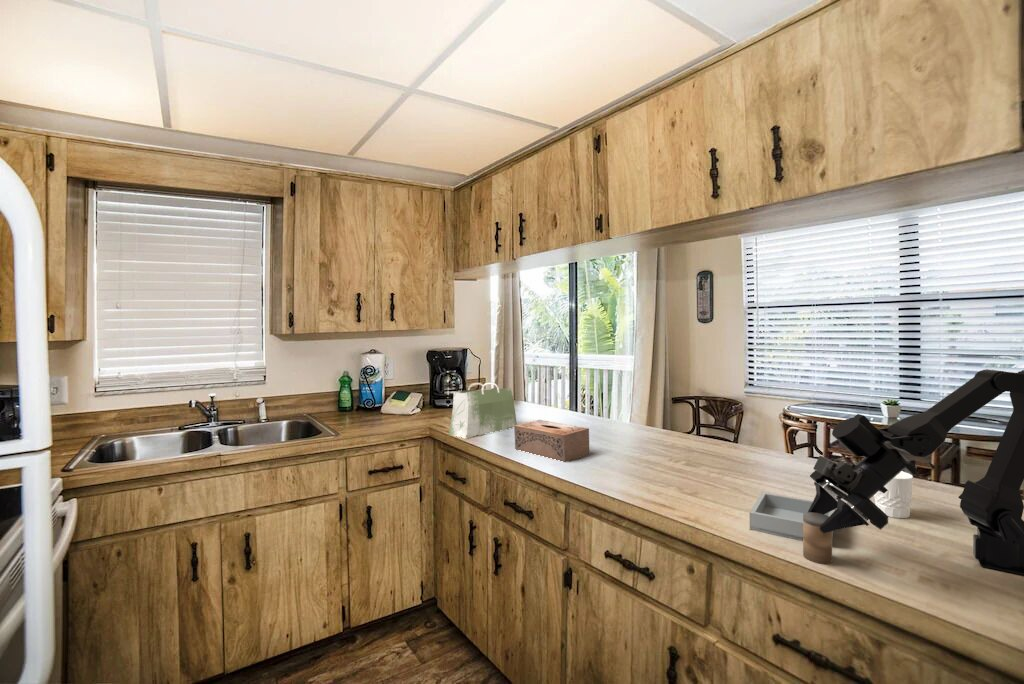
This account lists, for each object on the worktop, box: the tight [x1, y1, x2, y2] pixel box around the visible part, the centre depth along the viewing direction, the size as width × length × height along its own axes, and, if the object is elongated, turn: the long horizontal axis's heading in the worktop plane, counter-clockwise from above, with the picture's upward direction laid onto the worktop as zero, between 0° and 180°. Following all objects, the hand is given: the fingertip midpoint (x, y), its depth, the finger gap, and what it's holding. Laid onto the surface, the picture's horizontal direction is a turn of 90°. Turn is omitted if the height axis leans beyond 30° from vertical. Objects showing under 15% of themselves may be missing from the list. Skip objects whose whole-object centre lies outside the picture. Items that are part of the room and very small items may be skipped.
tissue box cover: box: [513, 419, 590, 463], centre depth 184 cm, size 26×14×10 cm, turn 43°
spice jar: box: [802, 512, 833, 565], centre depth 98 cm, size 5×5×8 cm
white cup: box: [873, 470, 914, 519], centre depth 118 cm, size 8×8×10 cm
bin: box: [748, 491, 837, 542], centre depth 113 cm, size 16×16×4 cm
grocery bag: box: [448, 381, 518, 440], centre depth 223 cm, size 32×14×23 cm, turn 134°
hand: (814, 524), depth 98 cm, fingers open, 6 cm apart
